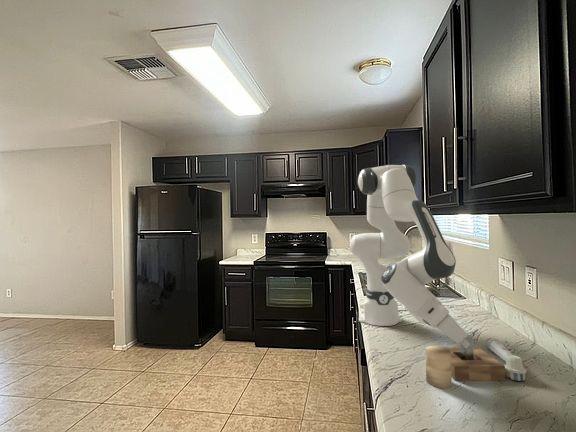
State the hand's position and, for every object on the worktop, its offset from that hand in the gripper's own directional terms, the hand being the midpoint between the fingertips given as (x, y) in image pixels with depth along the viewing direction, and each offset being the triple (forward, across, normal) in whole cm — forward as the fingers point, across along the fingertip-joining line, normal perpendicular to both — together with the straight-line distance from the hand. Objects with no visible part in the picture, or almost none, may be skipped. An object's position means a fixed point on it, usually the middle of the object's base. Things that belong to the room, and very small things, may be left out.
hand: (458, 339), depth 102 cm
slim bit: (+8, 0, -5) cm, 9 cm away
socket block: (+8, 0, -5) cm, 9 cm away
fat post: (0, +7, -13) cm, 15 cm away
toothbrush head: (+18, -4, +4) cm, 19 cm away
